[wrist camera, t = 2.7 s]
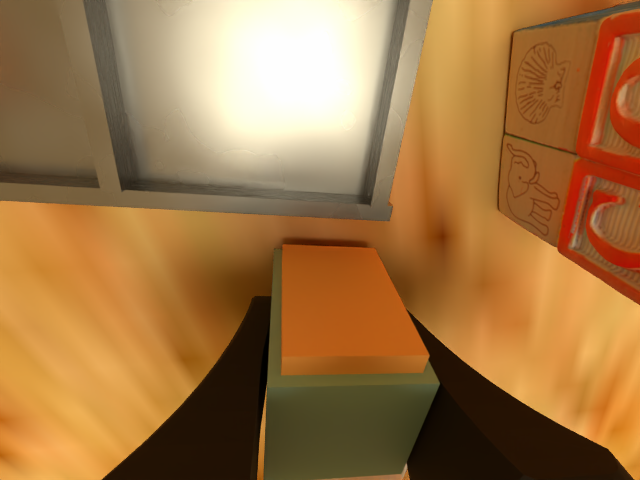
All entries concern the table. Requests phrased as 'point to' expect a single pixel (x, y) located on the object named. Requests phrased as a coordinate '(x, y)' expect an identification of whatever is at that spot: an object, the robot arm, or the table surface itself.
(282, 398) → the toy block
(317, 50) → the rail
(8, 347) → the table surface
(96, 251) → the table surface
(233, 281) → the table surface
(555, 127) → the stack of blocks
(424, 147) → the table surface
